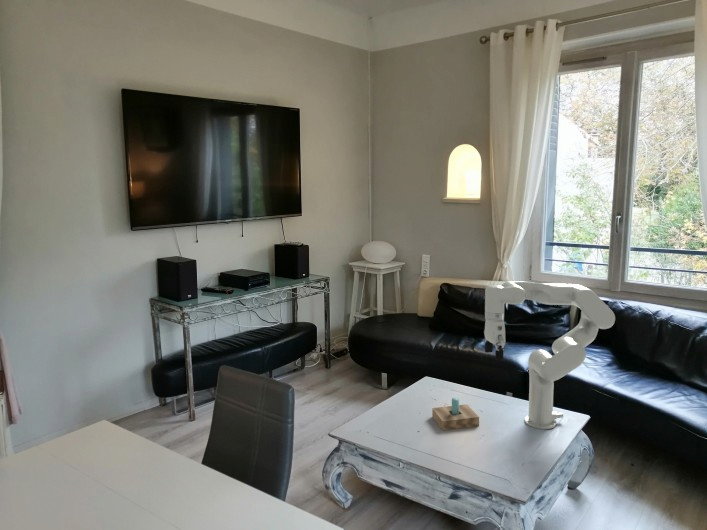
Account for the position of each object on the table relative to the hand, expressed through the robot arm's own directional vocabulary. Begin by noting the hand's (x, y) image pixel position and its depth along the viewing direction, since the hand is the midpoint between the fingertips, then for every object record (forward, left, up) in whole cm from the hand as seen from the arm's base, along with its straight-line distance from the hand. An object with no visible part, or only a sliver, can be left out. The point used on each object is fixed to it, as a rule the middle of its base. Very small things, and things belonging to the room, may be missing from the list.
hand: (493, 355), depth 222 cm
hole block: (+14, -7, -30) cm, 34 cm away
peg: (+14, -7, -30) cm, 34 cm away
